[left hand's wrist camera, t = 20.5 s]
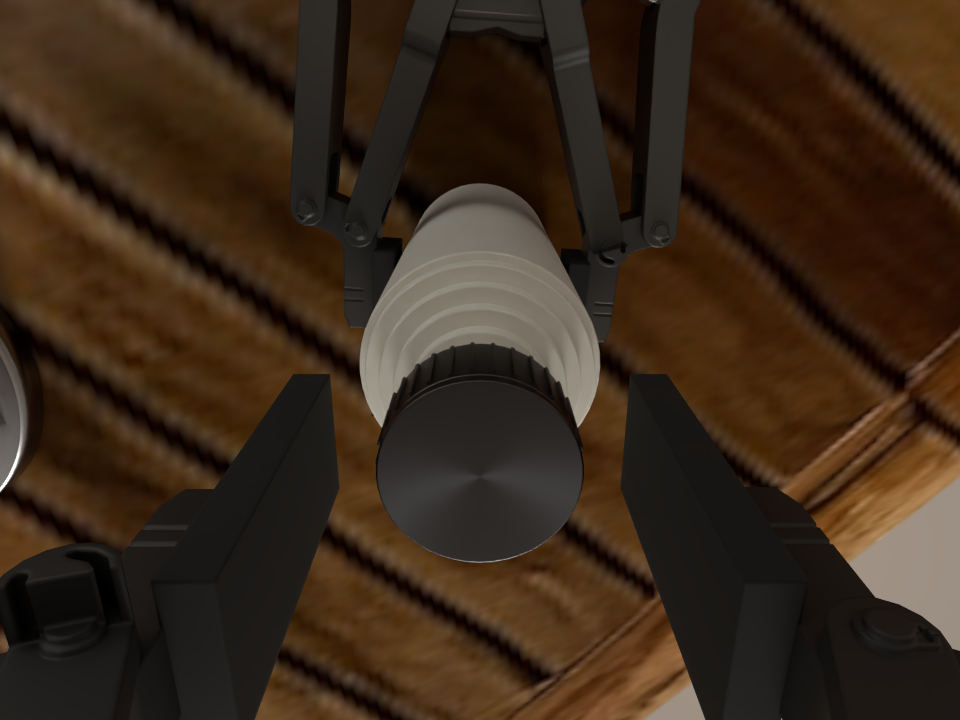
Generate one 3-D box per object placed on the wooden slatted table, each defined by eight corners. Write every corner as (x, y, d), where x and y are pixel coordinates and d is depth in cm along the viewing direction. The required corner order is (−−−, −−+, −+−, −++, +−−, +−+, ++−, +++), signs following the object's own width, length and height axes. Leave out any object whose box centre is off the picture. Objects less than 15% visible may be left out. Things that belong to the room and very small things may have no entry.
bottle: (555, 191, 31) (670, 323, 12) (537, 322, 33) (610, 603, 15) (418, 176, 31) (322, 288, 12) (408, 309, 33) (315, 577, 14)
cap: (496, 538, 16) (498, 599, 14) (350, 443, 15) (330, 493, 13) (611, 413, 15) (632, 460, 13) (461, 301, 14) (458, 334, 12)
